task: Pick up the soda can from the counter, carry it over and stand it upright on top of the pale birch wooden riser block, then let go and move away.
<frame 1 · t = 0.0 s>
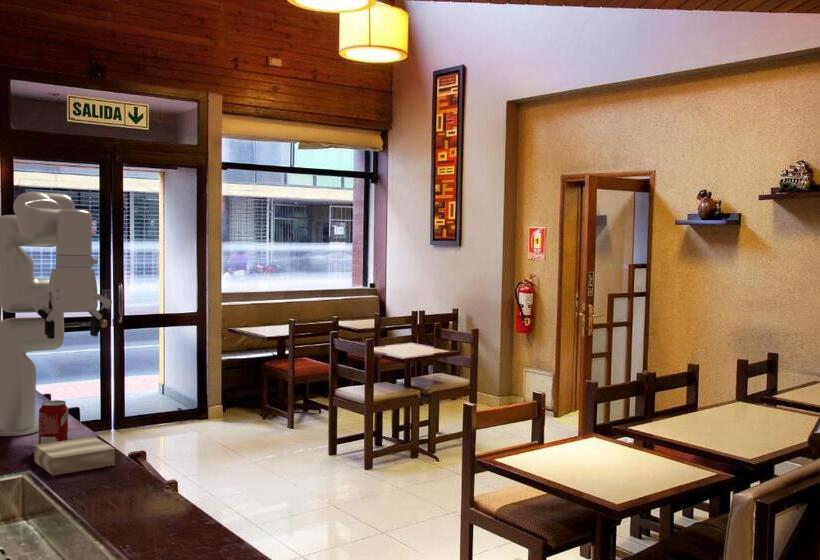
hand: (72, 337, 171), 31 cm above the counter, tool pointing down, fingers open, 9 cm apart
soda can: (53, 449, 189), on the counter
birch block: (74, 463, 177), on the counter
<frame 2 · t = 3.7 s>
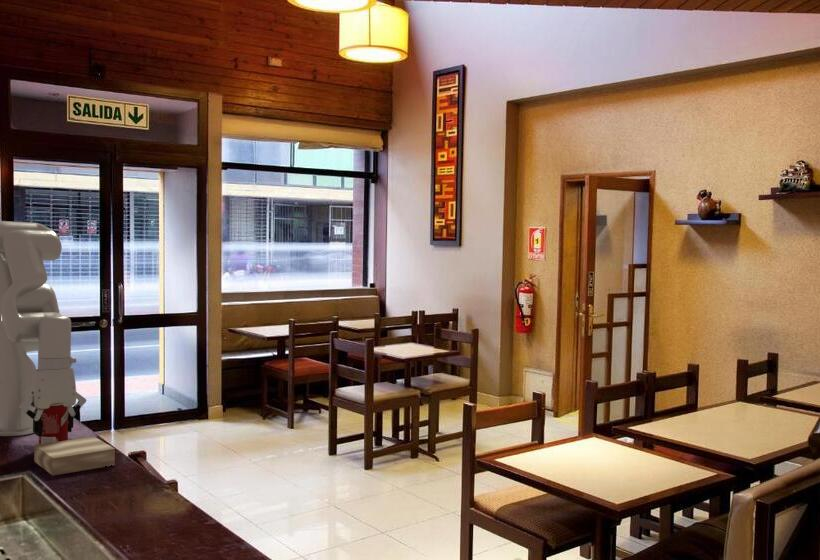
hand: (53, 432, 189), 4 cm above the counter, tool pointing down, fingers closed on soda can, 6 cm apart
soda can: (53, 449, 189), on the counter, touching gripper
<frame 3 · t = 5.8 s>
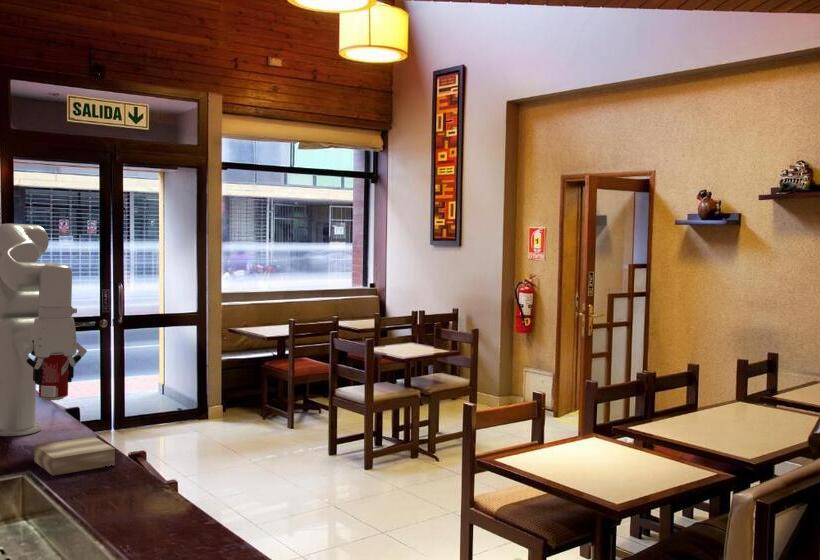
hand: (53, 382, 189), 17 cm above the counter, tool pointing down, fingers closed on soda can, 6 cm apart
soda can: (53, 399, 189), point 13 cm above the counter, touching gripper
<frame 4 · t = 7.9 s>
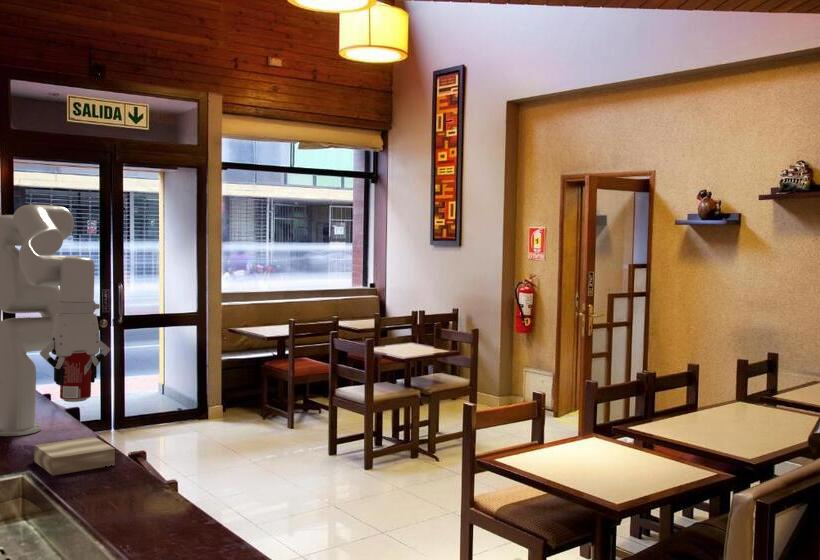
hand: (75, 382, 177), 20 cm above the counter, tool pointing down, fingers closed on soda can, 6 cm apart
soda can: (75, 400, 177), point 15 cm above the counter, touching gripper
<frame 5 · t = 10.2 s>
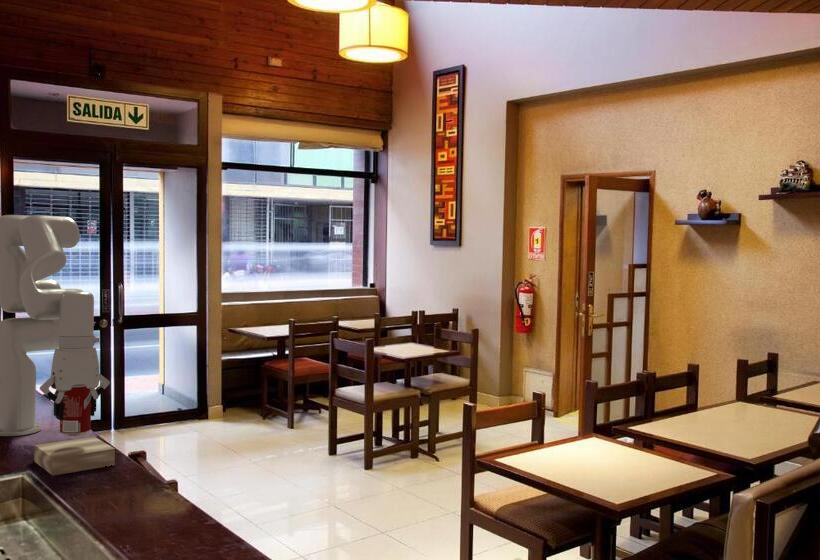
hand: (75, 416, 177), 11 cm above the counter, tool pointing down, fingers closed on soda can, 6 cm apart
soda can: (75, 434, 177), point 7 cm above the counter, touching gripper
when the fingers open (9 cm above the counter, at t = 12.3 s): soda can stays where it is, resting on birch block.
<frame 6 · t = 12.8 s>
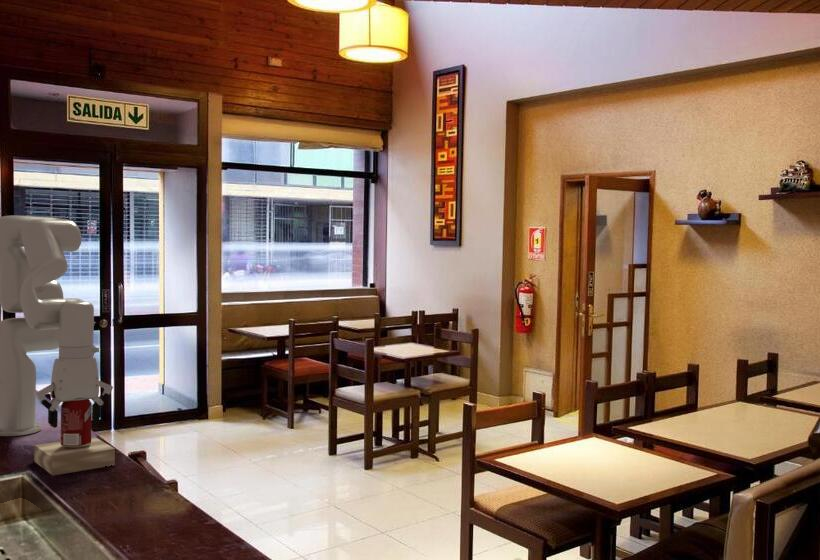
hand: (75, 423, 177), 10 cm above the counter, tool pointing down, fingers open, 9 cm apart
soda can: (75, 447, 178), point 4 cm above the counter, touching birch block
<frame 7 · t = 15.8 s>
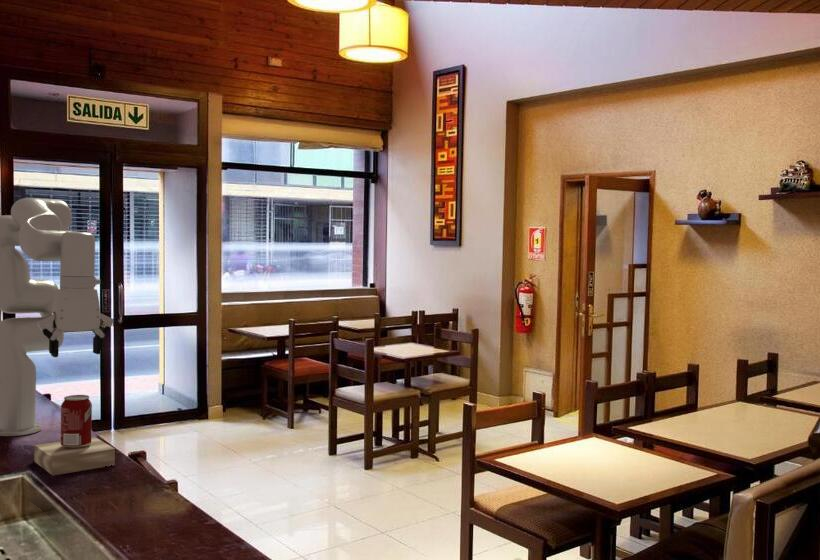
hand: (76, 355, 176), 26 cm above the counter, tool pointing down, fingers open, 9 cm apart
nothing on the counter moved.
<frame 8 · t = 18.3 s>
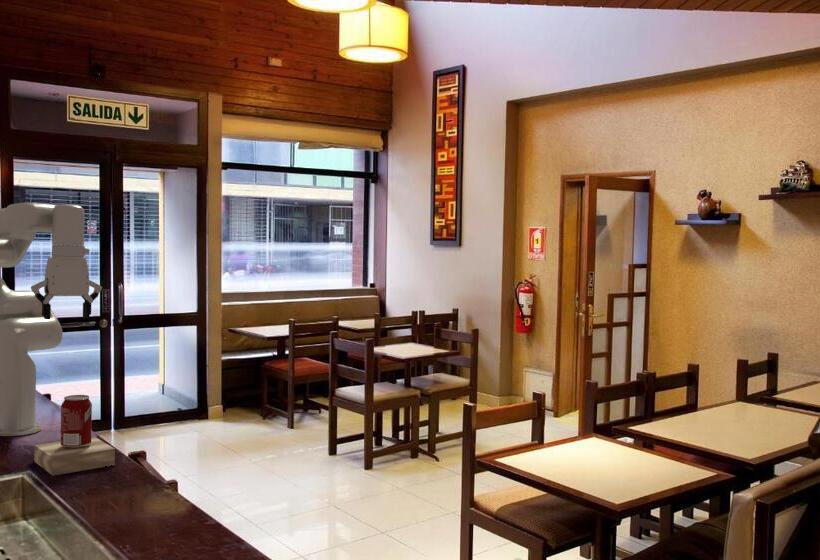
hand: (66, 318, 192), 33 cm above the counter, tool pointing down, fingers open, 9 cm apart
nothing on the counter moved.
at the end: soda can inside the target area on the birch block (0.5 cm from its centre), point 3.8 cm above the birch block's base; soda can tilted 0°; the gripper is holding nothing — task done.
